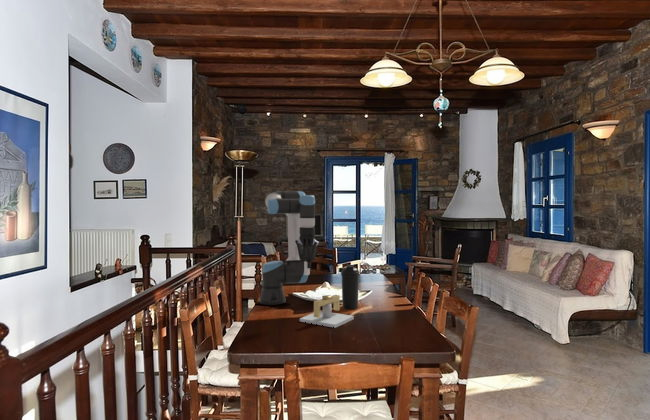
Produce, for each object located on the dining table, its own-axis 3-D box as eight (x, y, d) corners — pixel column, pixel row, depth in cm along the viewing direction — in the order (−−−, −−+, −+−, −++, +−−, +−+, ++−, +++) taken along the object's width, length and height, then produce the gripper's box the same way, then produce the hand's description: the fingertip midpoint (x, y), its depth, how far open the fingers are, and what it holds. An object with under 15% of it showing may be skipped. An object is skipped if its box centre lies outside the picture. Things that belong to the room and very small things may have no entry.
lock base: (299, 321, 214) (299, 305, 214) (319, 313, 230) (319, 298, 229) (335, 327, 204) (335, 310, 204) (353, 319, 219) (353, 302, 219)
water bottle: (359, 305, 247) (359, 264, 247) (359, 309, 237) (359, 267, 237) (341, 304, 248) (341, 264, 248) (340, 309, 238) (340, 266, 238)
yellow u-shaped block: (319, 318, 208) (320, 300, 208) (311, 316, 211) (311, 298, 210) (341, 310, 222) (341, 293, 222) (333, 308, 225) (333, 292, 225)
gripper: (322, 226, 215) (322, 274, 216) (300, 225, 222) (300, 272, 223) (314, 227, 209) (313, 277, 209) (291, 226, 216) (291, 274, 216)
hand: (307, 274), depth 216 cm, fingers closed
